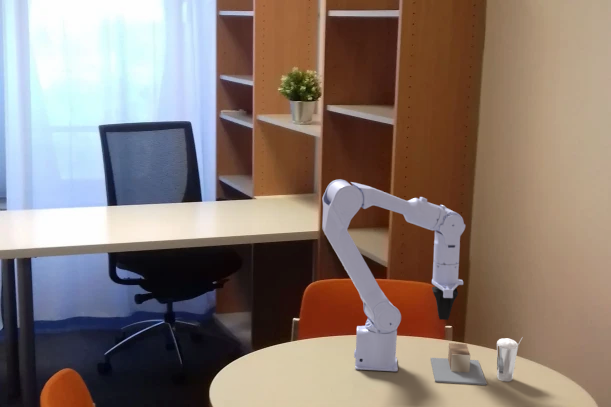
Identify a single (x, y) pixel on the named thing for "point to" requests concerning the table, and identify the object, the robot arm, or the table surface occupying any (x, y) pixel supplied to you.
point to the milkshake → (506, 358)
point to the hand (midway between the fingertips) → (443, 318)
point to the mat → (457, 373)
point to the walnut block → (459, 357)
